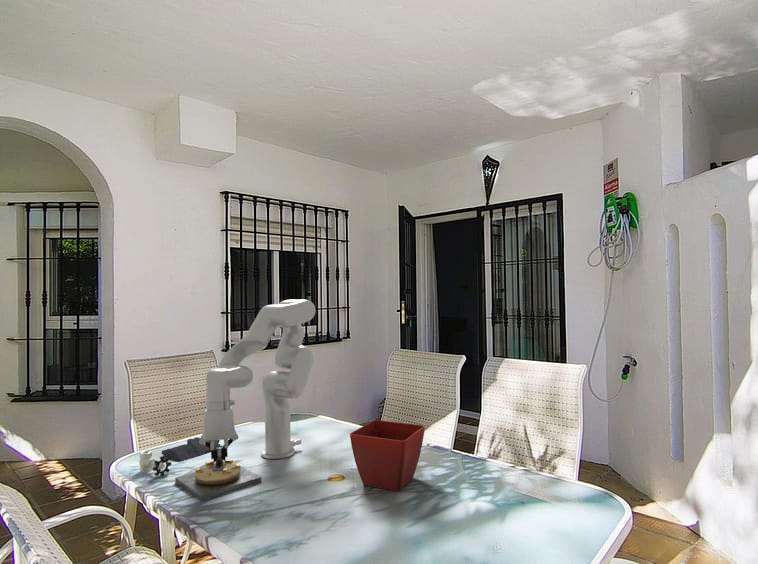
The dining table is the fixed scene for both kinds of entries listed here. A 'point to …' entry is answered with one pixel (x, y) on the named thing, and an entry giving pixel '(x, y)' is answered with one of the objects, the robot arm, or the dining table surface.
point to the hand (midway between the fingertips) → (219, 459)
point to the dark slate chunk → (189, 450)
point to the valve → (153, 463)
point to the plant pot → (387, 453)
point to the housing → (212, 491)
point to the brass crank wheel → (217, 470)
